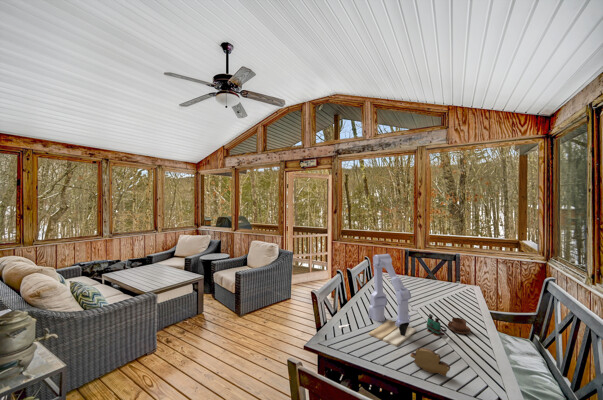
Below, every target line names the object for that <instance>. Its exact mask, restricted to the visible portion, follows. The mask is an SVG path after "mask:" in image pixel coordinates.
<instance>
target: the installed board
mask: <svg viewBox="0 0 603 400" xmlns="http://www.w3.org/2000/svg"><path fill="white" fill-rule="evenodd" d="M395 322H396V321H394V320H391V319H388V320H387V321H385V322H384V323H382V324H381V325H379V326H378V327H376V328H375V329H373V330H371V331H370V332H368V335H369V336H371V337H374V338H376V339H378V340H380V341H381V342H384V341H383V338H385V337H386V336H388V335H389V334H390V333H392V332H393V331H395V330H396V329H397V328H399V327H397V326H395Z"/></svg>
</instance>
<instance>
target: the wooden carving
mask: <svg viewBox="0 0 603 400" xmlns="http://www.w3.org/2000/svg"><path fill="white" fill-rule="evenodd" d="M409 356H410V357H411V358H412V359H414V360H413V363H414V364H415V365H416V366H418V367H419V368H420V369H422V370H424V371H426V372H428V373H430V374H431V373H432V374H439V375H441V376H443V377H446V376H447V374H448V372H450V370H451V366H450V365H449V364H448V363H446V362H445V361H444V360H443V361H442V360H441V355H440V354H439V353H436V352H435V351H433V350H431V349H428V348H425V347H417V348H416V350H415V352H414V351H413V352H411V353H410V355H409Z"/></svg>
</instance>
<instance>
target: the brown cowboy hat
mask: <svg viewBox="0 0 603 400" xmlns="http://www.w3.org/2000/svg"><path fill="white" fill-rule="evenodd" d="M447 327H448V329H450V330H451V331H453V332H454V333H457V334H464V335H465V334H470V333H471V332H472V329H471V328H470V327H469V326H468V325H467V320H466V319H463V318H461V317H452V319H451V320H449V322H448V324H447Z"/></svg>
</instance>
